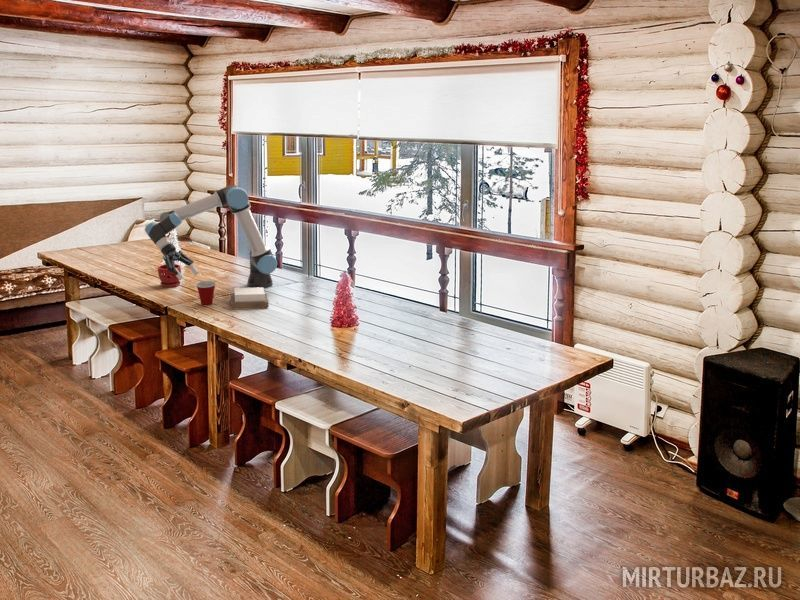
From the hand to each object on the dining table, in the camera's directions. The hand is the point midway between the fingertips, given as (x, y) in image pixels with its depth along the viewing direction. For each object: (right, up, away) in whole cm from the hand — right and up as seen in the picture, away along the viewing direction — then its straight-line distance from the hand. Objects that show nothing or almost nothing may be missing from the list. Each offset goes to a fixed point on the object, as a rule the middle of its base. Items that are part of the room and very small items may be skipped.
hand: (189, 276), depth 441 cm
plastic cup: (+9, -16, 0) cm, 18 cm away
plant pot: (-22, -4, +40) cm, 46 cm away
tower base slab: (+32, -16, +4) cm, 36 cm away
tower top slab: (+32, -12, +3) cm, 35 cm away
